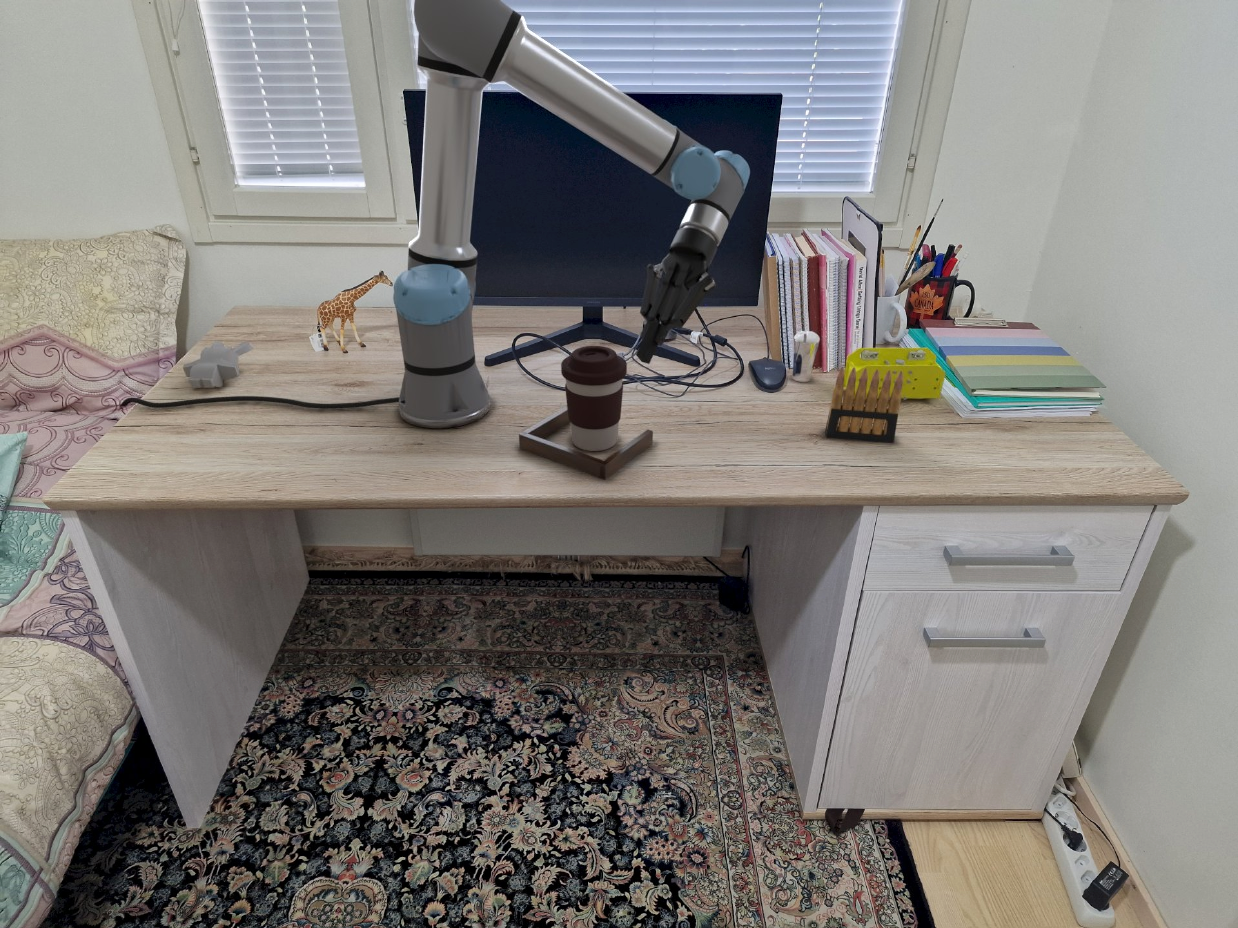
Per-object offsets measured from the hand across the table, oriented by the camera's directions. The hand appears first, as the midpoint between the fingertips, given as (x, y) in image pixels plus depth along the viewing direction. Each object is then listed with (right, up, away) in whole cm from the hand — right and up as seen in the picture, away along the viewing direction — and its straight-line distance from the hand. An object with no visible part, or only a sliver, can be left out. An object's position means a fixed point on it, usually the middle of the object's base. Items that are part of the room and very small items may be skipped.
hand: (642, 359), depth 127 cm
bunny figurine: (-78, -1, +16) cm, 80 cm away
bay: (-9, -14, -6) cm, 18 cm away
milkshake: (+30, -2, +16) cm, 34 cm away
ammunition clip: (+35, -13, -3) cm, 38 cm away
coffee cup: (-8, -14, -5) cm, 17 cm away
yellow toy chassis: (+45, -5, +10) cm, 46 cm away
